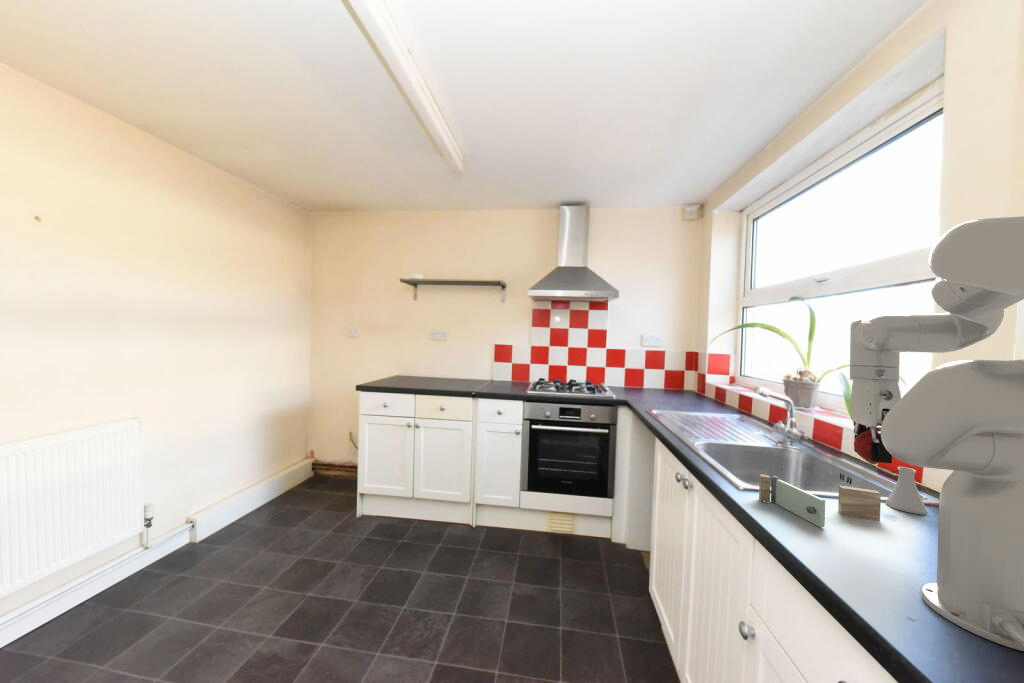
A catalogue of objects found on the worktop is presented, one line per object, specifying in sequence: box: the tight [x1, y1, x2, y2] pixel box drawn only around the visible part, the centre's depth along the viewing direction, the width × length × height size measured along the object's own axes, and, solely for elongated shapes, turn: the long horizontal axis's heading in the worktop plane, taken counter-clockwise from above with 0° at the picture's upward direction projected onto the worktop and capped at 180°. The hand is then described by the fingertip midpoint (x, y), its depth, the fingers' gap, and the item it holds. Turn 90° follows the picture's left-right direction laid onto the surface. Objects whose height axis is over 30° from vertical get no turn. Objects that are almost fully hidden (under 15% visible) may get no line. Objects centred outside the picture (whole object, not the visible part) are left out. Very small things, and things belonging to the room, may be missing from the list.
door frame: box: [758, 474, 882, 522], centre depth 87 cm, size 2×23×6 cm, turn 67°
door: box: [770, 475, 826, 528], centre depth 85 cm, size 2×13×6 cm, turn 7°
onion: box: [853, 429, 881, 465], centre depth 77 cm, size 6×6×8 cm
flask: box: [884, 466, 928, 516], centre depth 89 cm, size 7×7×10 cm
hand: (872, 456), depth 77 cm, fingers closed on onion, 5 cm apart
